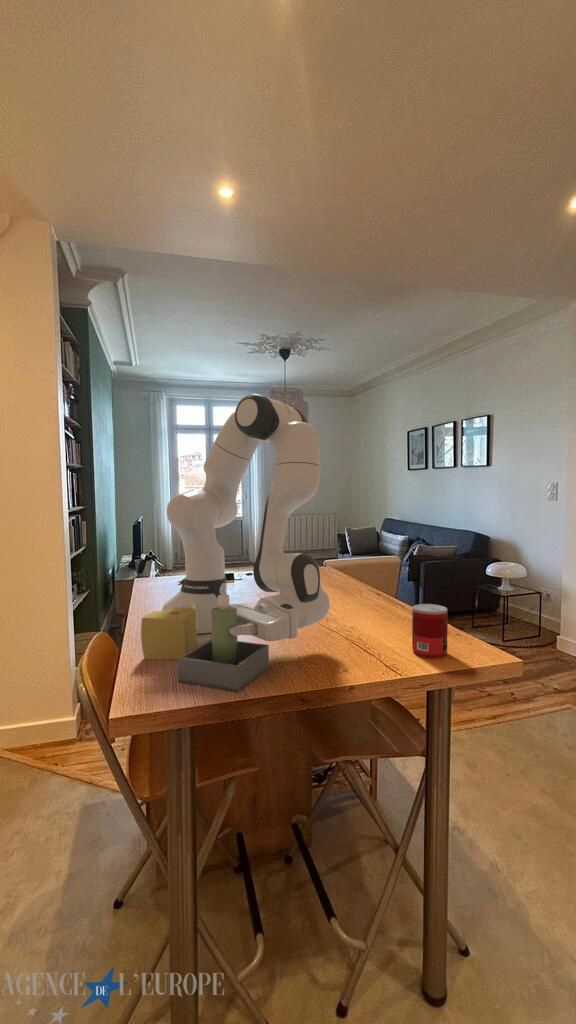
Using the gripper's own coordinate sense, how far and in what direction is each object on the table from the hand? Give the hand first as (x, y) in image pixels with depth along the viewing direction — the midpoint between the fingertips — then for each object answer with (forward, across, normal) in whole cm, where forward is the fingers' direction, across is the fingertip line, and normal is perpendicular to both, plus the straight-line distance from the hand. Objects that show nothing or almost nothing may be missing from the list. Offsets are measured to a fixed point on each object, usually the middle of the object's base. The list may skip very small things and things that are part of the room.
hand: (220, 627), depth 100 cm
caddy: (-1, 0, +10) cm, 10 cm away
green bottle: (-1, 0, +9) cm, 9 cm away
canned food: (-44, +22, +10) cm, 50 cm away
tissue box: (+1, -20, +11) cm, 23 cm away
